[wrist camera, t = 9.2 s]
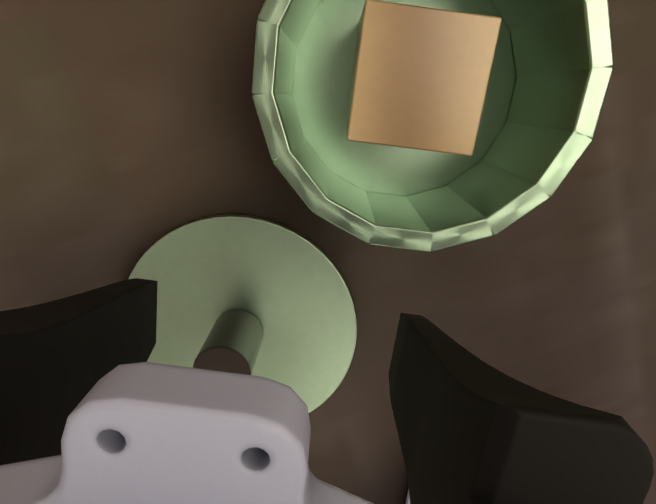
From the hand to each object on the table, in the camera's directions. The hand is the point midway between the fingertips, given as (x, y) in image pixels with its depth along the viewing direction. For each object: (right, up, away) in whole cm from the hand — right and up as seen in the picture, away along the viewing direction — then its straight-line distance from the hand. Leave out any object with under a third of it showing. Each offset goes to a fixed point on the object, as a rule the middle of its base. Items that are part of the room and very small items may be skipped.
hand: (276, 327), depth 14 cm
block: (+5, +9, +6) cm, 12 cm away
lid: (-3, -1, +9) cm, 10 cm away
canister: (+5, +9, +6) cm, 12 cm away
